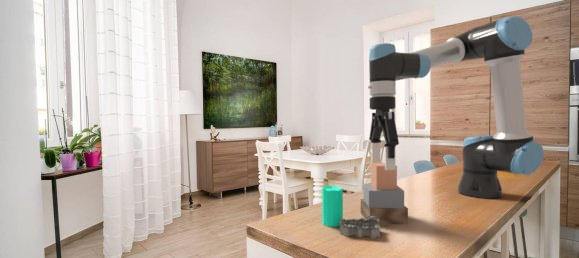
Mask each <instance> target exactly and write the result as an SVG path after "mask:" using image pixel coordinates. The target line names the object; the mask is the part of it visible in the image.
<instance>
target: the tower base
mask: <svg viewBox="0 0 579 258" xmlns="http://www.w3.org/2000/svg"><path fill="white" fill-rule="evenodd" d="M360 214H361V215H362V218H365V219H366V217H367V216H378V218H379V224H380V226H381V225H386V226H387V225H408V224H409V208H408V207H407V206H406V205H404V208H369V207H368V205H367V204H366V202H365V201H364V199H363V198H360Z"/></svg>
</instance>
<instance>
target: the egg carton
mask: <svg viewBox="0 0 579 258" xmlns="http://www.w3.org/2000/svg"><path fill="white" fill-rule="evenodd" d="M339 224H341V225H340V226H339V234H340V235H343V236H344V237H349V236H356V237H357V238H362V237H370V238H371V239H376V238H378V237H379V238H380V233H381V232H380V229H381V225H380V224H379V218H378V216H367V217H366V219H365V218H364V217H360V218H350V219H345V218H343V219H340V223H339Z"/></svg>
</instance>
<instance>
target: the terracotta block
mask: <svg viewBox="0 0 579 258" xmlns="http://www.w3.org/2000/svg"><path fill="white" fill-rule="evenodd" d="M370 184H371V186H372V187H374V188H375V189H376V190H397V186H398V166H397V165H396V164H395V170H385V162H380V163H372V162H371V163H370Z"/></svg>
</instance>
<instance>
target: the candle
mask: <svg viewBox="0 0 579 258" xmlns="http://www.w3.org/2000/svg"><path fill="white" fill-rule="evenodd" d="M321 195H322V196H321V198H322V199H321V206H322V207H321V208H322V210H321V211H322V212H321V213H322V214H321V215H322V217H321V218H322V220H321V221H322V225H324V226H327V227H331V228H333V227H335V228H336V227H340V225H341V224H339V223H340V219H344V189H343V187H341V186H335V185H333V182H331V185H328V184H327V185H324V186H322V187H321Z"/></svg>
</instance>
